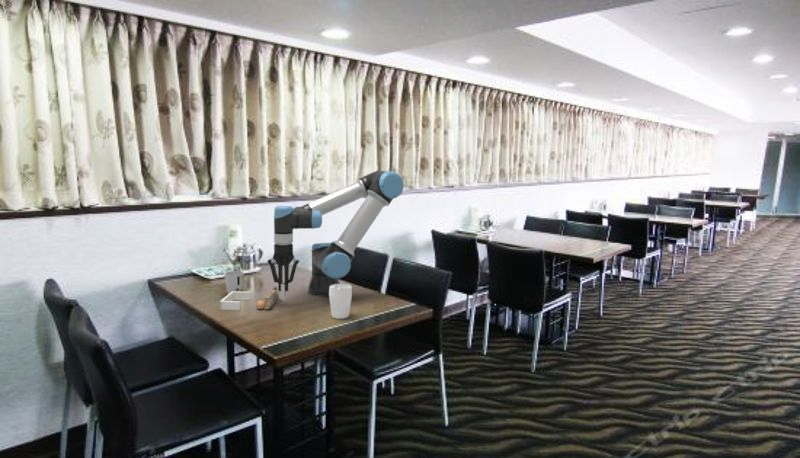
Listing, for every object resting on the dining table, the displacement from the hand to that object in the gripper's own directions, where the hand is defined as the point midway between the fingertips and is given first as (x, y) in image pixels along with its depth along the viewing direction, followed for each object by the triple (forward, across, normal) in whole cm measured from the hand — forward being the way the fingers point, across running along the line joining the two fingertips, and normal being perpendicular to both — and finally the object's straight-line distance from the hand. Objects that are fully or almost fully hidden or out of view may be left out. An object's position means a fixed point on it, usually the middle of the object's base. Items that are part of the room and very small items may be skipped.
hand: (283, 298), depth 194 cm
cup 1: (+3, +25, -13) cm, 28 cm away
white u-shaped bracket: (+3, +20, +1) cm, 20 cm away
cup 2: (+3, -25, +13) cm, 29 cm away
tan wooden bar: (+2, +5, +1) cm, 5 cm away
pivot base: (+3, +5, -5) cm, 7 cm away
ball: (+1, +8, +6) cm, 10 cm away
